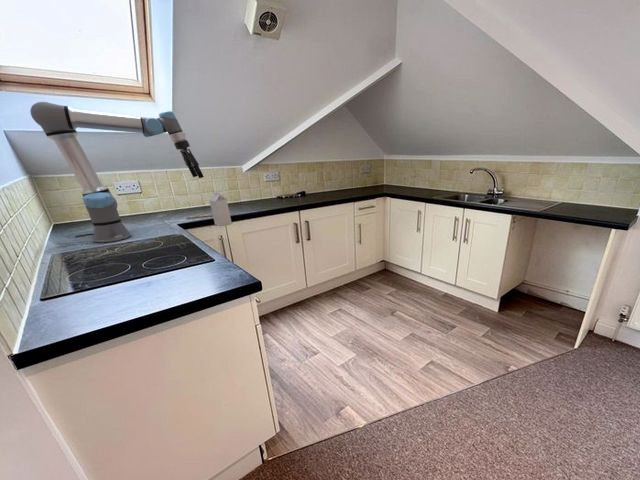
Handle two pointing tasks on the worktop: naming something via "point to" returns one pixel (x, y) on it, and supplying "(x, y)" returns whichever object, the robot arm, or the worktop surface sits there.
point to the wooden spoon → (200, 216)
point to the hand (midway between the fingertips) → (198, 177)
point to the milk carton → (220, 210)
